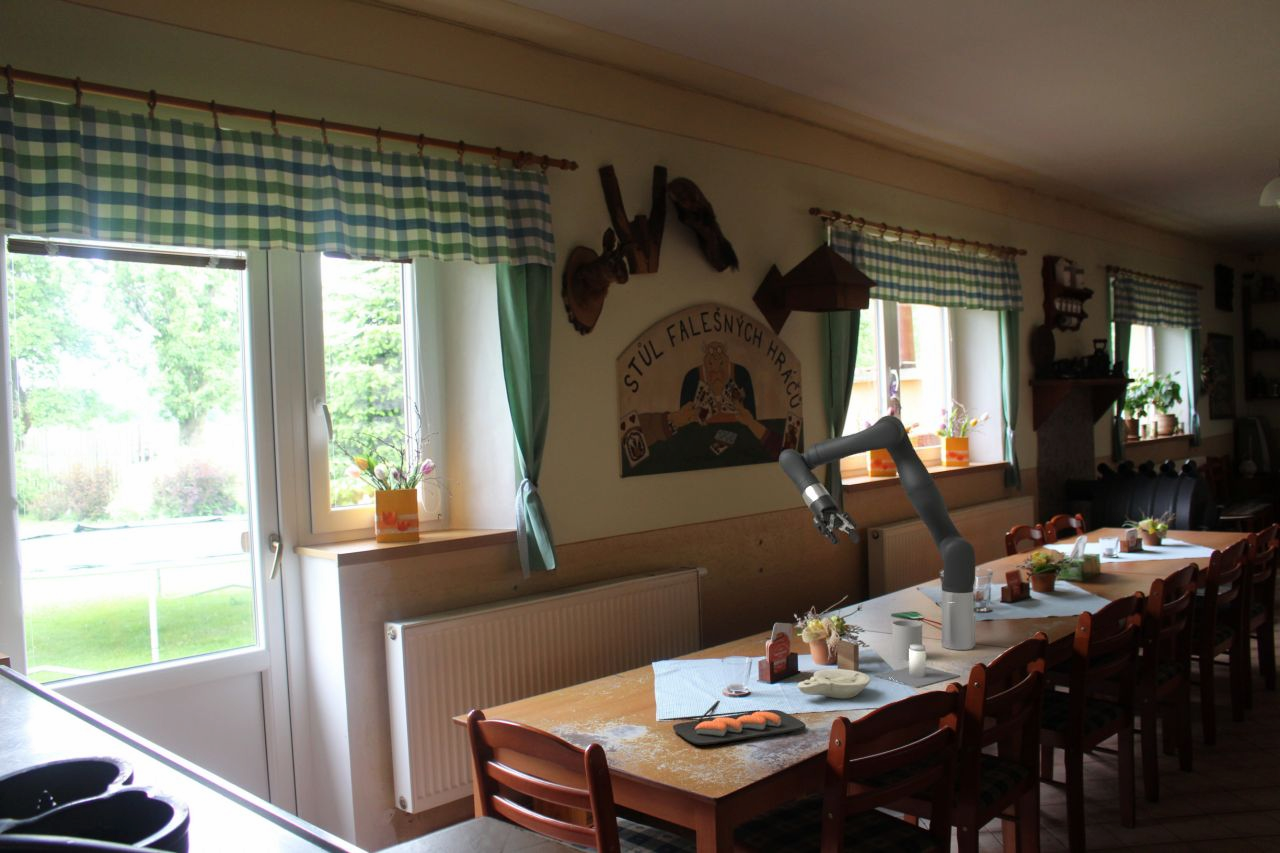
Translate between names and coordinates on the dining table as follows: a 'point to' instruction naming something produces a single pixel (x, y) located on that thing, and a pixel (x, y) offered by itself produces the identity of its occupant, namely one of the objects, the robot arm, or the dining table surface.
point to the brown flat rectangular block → (848, 655)
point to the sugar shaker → (917, 660)
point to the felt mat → (930, 677)
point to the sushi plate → (735, 726)
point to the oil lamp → (835, 683)
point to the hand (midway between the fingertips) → (847, 542)
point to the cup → (905, 637)
